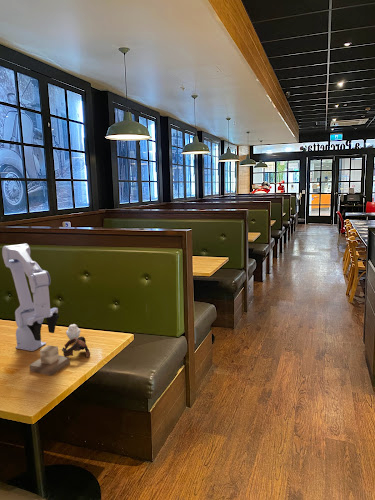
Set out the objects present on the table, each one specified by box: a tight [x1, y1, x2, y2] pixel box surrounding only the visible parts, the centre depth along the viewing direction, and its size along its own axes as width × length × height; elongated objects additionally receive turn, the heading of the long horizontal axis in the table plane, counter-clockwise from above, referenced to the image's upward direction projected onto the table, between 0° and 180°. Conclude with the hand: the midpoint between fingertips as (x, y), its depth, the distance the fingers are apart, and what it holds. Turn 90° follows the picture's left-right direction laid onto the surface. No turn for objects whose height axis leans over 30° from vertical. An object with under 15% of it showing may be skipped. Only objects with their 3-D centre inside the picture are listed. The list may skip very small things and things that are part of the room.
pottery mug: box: [61, 335, 91, 359], centre depth 150 cm, size 12×10×8 cm
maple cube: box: [39, 344, 60, 364], centre depth 140 cm, size 4×4×5 cm
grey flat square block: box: [29, 354, 71, 377], centre depth 141 cm, size 10×10×3 cm
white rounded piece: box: [65, 323, 81, 341], centre depth 165 cm, size 6×6×7 cm
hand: (44, 336), depth 146 cm, fingers open, 7 cm apart
